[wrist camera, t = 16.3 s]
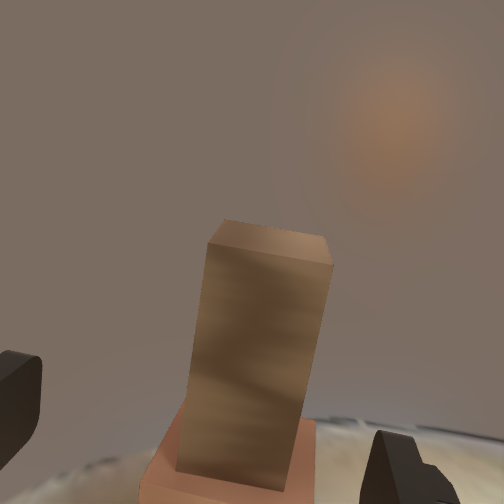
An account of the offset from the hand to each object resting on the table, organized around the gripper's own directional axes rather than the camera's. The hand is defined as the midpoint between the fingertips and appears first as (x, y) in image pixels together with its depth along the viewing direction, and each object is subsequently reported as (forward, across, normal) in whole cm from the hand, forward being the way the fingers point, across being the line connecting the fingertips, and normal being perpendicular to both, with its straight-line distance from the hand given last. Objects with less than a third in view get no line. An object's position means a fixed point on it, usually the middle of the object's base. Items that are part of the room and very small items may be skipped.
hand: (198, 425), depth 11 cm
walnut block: (+9, -1, +7) cm, 12 cm away
